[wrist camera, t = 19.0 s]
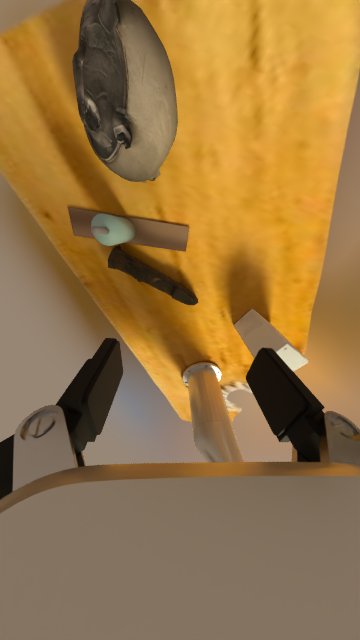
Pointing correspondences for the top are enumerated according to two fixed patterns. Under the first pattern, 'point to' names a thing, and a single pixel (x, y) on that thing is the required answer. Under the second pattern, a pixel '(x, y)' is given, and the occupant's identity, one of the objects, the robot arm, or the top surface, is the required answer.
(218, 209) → the top surface
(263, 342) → the small box
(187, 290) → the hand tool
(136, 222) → the joist strip
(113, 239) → the green ice pop
